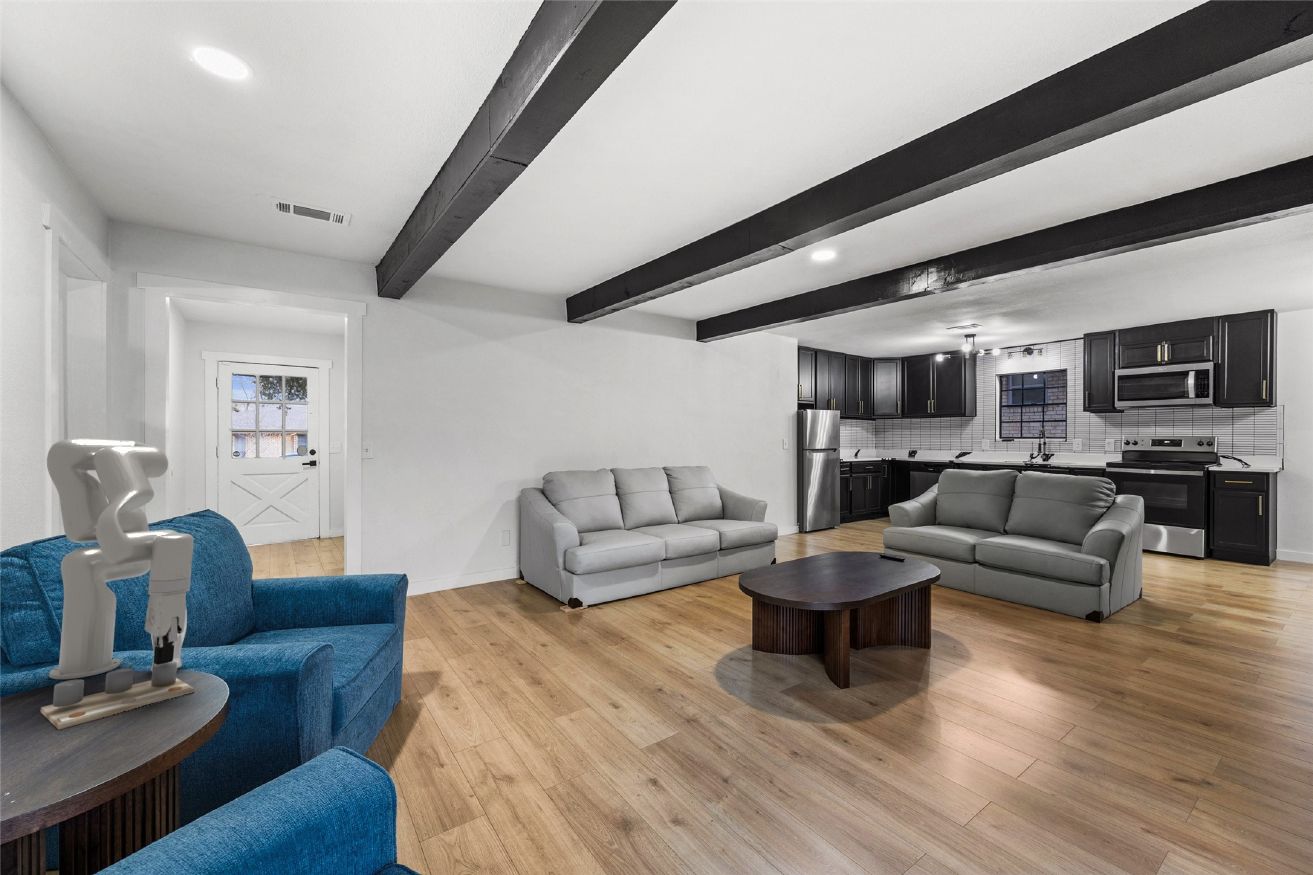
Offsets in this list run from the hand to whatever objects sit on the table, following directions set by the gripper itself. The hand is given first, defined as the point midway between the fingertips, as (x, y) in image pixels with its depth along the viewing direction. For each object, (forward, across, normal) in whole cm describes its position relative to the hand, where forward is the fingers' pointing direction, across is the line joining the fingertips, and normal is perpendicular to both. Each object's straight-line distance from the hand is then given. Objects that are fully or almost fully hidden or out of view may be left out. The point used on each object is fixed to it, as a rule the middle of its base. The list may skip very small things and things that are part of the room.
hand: (163, 662), depth 132 cm
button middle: (+4, +1, -8) cm, 9 cm away
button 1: (+4, +1, -16) cm, 16 cm away
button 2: (+5, +1, 0) cm, 5 cm away
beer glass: (+6, -14, +5) cm, 16 cm away
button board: (+6, +3, -8) cm, 10 cm away
